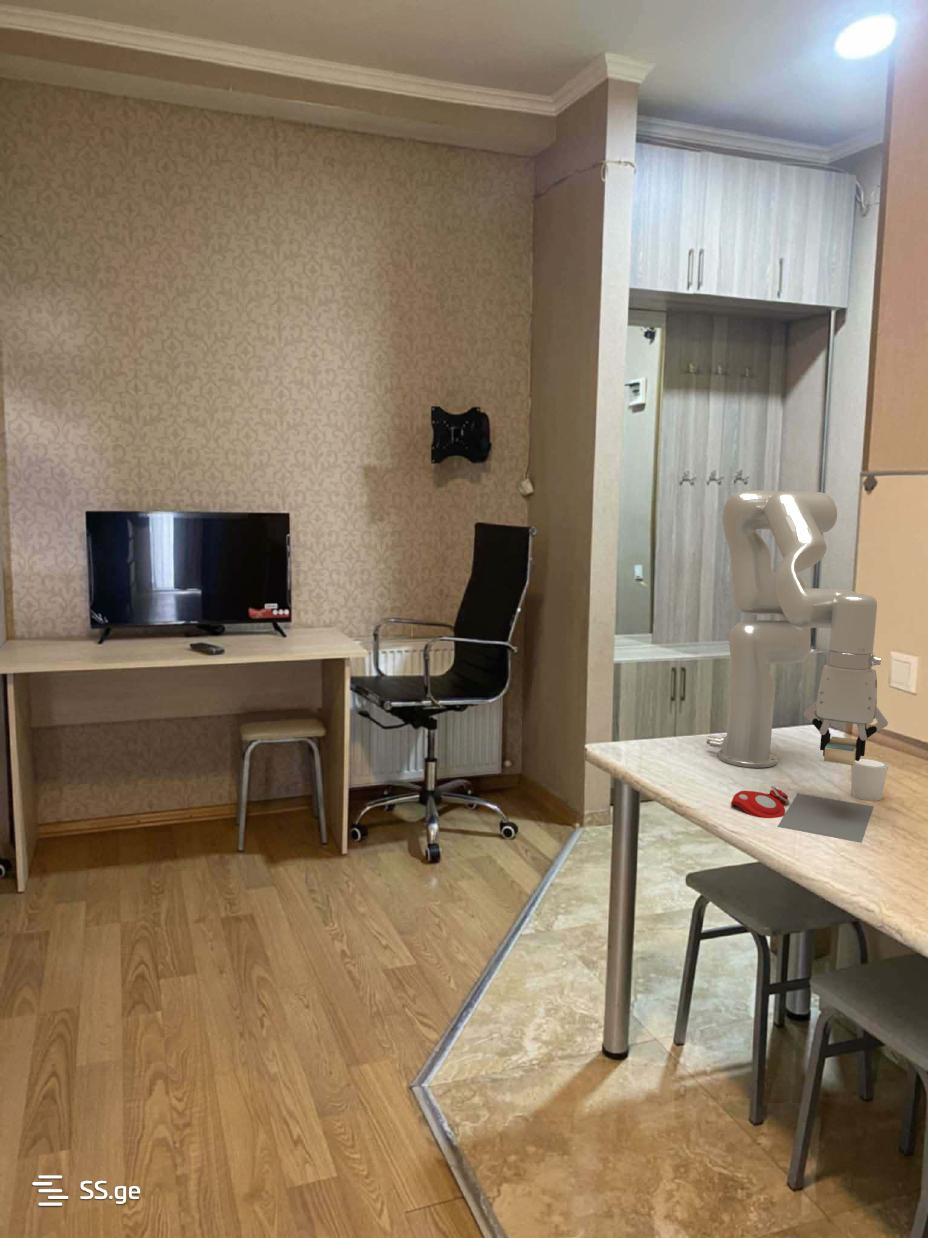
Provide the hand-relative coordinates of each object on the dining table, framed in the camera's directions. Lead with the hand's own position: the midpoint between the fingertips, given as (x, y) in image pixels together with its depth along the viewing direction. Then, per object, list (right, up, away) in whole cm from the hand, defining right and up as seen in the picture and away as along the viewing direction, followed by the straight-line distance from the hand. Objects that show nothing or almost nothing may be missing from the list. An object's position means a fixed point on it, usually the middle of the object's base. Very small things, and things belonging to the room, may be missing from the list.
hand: (841, 756), depth 179 cm
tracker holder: (-14, -11, +2) cm, 18 cm away
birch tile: (0, 0, 0) cm, 0 cm away
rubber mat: (-3, -12, -1) cm, 12 cm away
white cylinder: (+10, -10, +13) cm, 19 cm away
